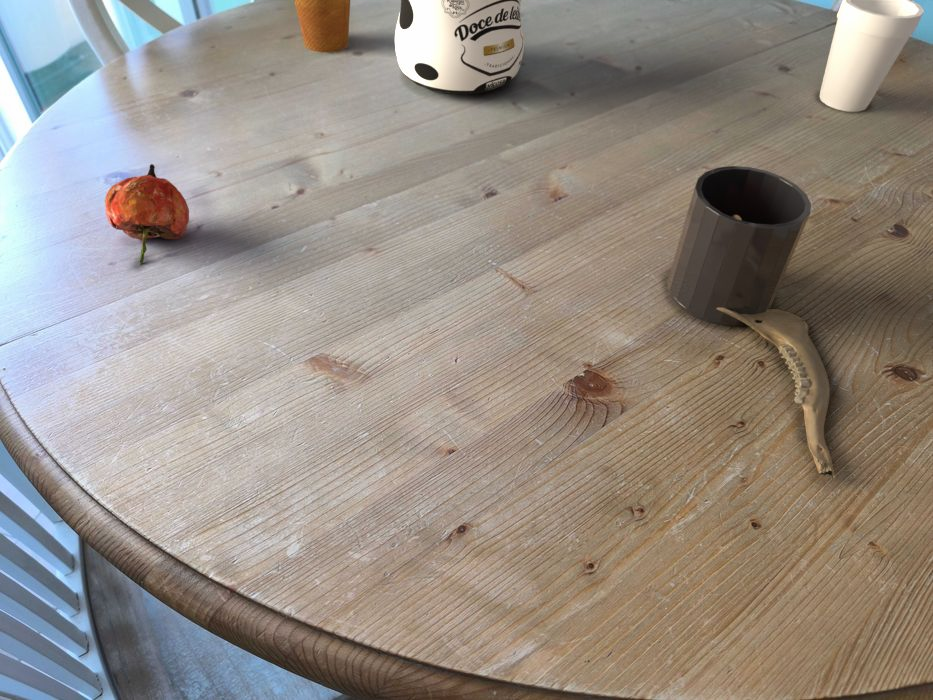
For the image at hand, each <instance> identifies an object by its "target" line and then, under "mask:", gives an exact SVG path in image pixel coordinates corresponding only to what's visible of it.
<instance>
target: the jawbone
mask: <svg viewBox="0 0 933 700" xmlns="http://www.w3.org/2000/svg"><path fill="white" fill-rule="evenodd" d="M716 309H717V310H719V311H722V312H724V313H726V314H728V315H731V316H732V317H734V318H736V319H738V320H740V321H742V322H744V323H745V324H747V325H746V326H748V327H750V328H751V329H752V330H754V331H755V332H757V333H758V334H759V335H760V336H761V337H762V338H764V339H765V340H767V341H768V342H770V343H771V344H773V345H774V346H775V347H776V348H777V349H778V353H779V354H780V355H782V356H781V359H783V360H786V361H784V364H785V365H786V366H787V369H788V370H789V371H790V375H792V377H791V378H792V380H793V381H794V383H795V385H794V387H795V388H796V389H795V391H794V392H793V394H795V397H794V400H793V401H794V403H795V404H796V405H798V406H801V407H802V409H803V413H804V414H803V417H804V425H805V432H806V441H807V446H808V449H809V451H810V453H811V454H812V457H813V462H814V464H815V466H816V469H817V472H818V474H820V475H822V476H824V477H828V476H829V478H830V479H831V480H833V479H835V470H834V466H833V462H832V457H831V453H830V451H829V450H830V449H829V447H828V446H827V444H826V439H825V422H826V418H827V414H828V409H829V404H830V392H831V391H830V390H831V388H830V381H829V378H828V374H827V372H826V368H825V366H824V363H823V360H822V359H821V356H820V354H819V352H818V350H817V348H816V346H815V344H814V342H813V341H812V339H811V337H810V336H809V330H810V329H809V325H808V323H807V322H806V321H805V318H803V317H801V316H799V315H797V314H794V313H791V312H789V311H788V310H787V311H786V310H782V309H777V308H769V309H767V311H766V312H763V313H758V314H739V313H737V312H735V311H731V310H728V309H726V308H716Z"/></svg>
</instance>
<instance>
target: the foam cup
mask: <svg viewBox="0 0 933 700" xmlns="http://www.w3.org/2000/svg"><path fill="white" fill-rule="evenodd" d="M924 12H925V10H924V9H923V7H922V5H920V4H919V3H917V2H915V1H913V0H842V1H841V4H840V6H839V9H838V11H837V14H836V18H837V19H836V24H835V29H834V33H833V37H832V41H831V44H830V48H829V53H828V56H827V62H826V66H825V70H824V74H823V79H822V82H821V86H820V91H819V96H818V97H819V100H820V101H821V102H822V103H823V104H825V105H826V106H828V107H830V108H832V109H835V110H838V111H844V112H848V113H849V112H854V113H855V112H856V113H857V112H858V113H859V112H861V111H866V109H867V108H868V107H869V105H870V104H871V102H872V100H873V99H874V97H875V95H876V94H877V93H878V91H879V89H880V87H881V85H882V84H883V83H884V81H885V78H886V77H887V75H888V74H889V72H890V71H891V69H892V68H893V66H894V64H895V62H896V60H897V59H898V57H899V56H900V54H901V52H902V50H904V47H905V45H906V44H907V42H908V41H909V39H910V37H911V36H913V34H914V33H915V32H916V31H917V28H918V26H919V23H920V21H921V19H922V17H923V15H924Z"/></svg>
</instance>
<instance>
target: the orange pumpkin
mask: <svg viewBox="0 0 933 700" xmlns="http://www.w3.org/2000/svg"><path fill="white" fill-rule="evenodd" d="M104 206H105V215H106V218H107V222H108V223H109V225H110V226H111V227H112V228H113V229H114V230H118V231H122V232H123V233H124V234H125V235H127V236H128V237H130V238H131V239H133V240H134V239H136V240H142V242H141V250H140V258H139V259H140V260H139V265H140V266H141V265H142V264H143V263H144V260H145V253H146V252H147V250H148V248H147V240H148V239H155V238H160V237H161V238H162V239H164V240H178V239H180V238H182V237H183V236H184V234H185V232H186V231H187V228H188V224H189V222H190V208H189V206H188V203H187V201H186V199H185V197H184V196H183V194H182V192H180V190H178V188H177V187H176V186H175V185H174V184H173V183H172V182H171V181H170V180H168V179H167V178H162V177H161V178H160V177H158V176H157V175H156V173H155V165H154V164H153V163H150V165H149V169H148V172H147V174H143V175H139V176H131V177H127V178H125V179H122V180H120V181H119V182H117V183H114V184H113V185H111V187H110V188H109V190H108V191H107V192H106V194H105V199H104Z"/></svg>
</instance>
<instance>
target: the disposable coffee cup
mask: <svg viewBox="0 0 933 700" xmlns="http://www.w3.org/2000/svg"><path fill="white" fill-rule="evenodd" d="M294 5H295V9H296V14H297V16H298V22H299V26H300V31H301V35H302V39H303V43H304V47H305V48H306V49H308V50H310V51H312V52H316V53H335V52H339V51H342V50H344V49H345V48H347V47H348V45H349V32H350V31H349V30H350V15H351V14H350V13H351V0H294Z"/></svg>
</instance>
